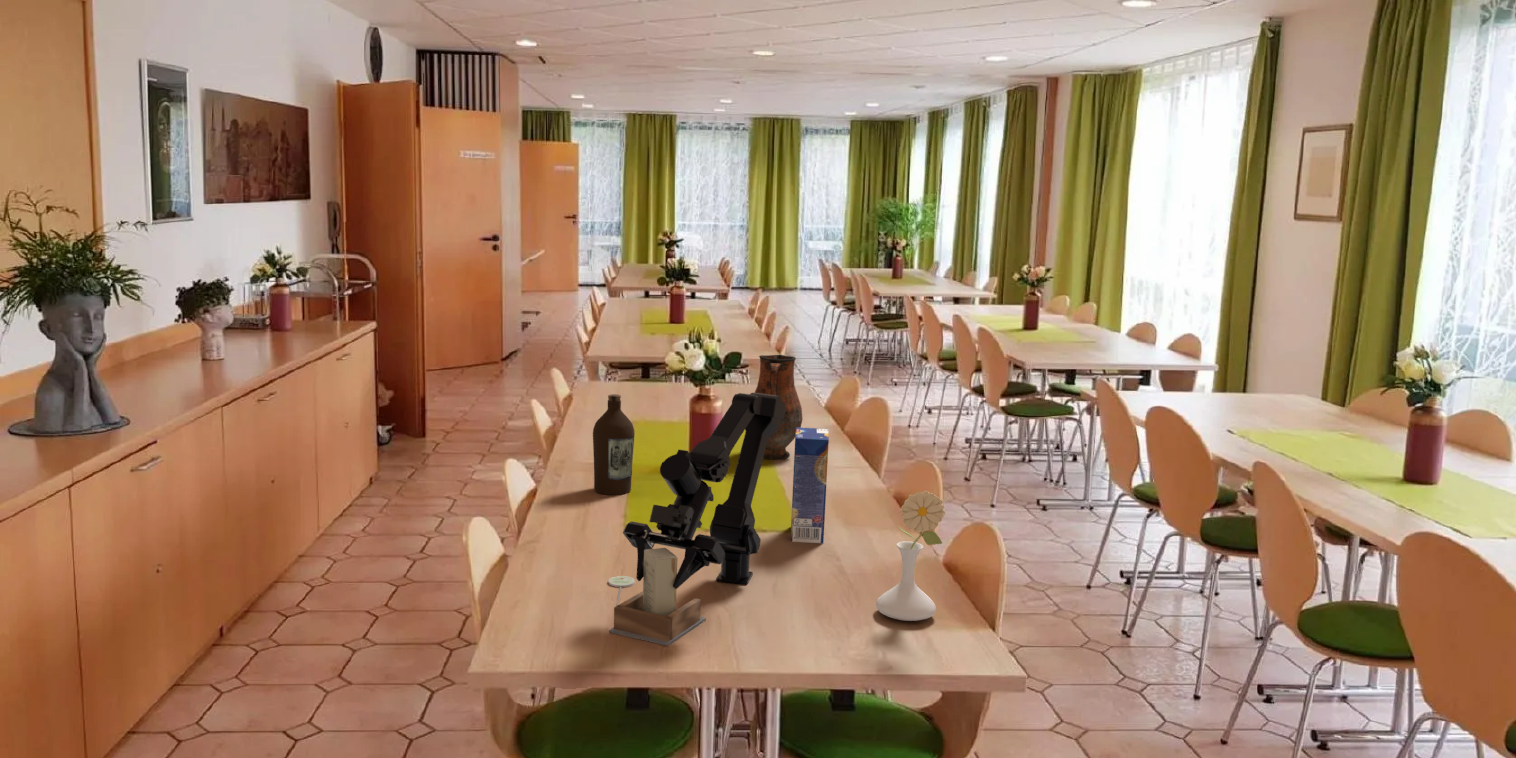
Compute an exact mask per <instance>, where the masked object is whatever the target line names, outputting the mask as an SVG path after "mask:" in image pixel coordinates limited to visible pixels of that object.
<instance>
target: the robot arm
mask: <svg viewBox="0 0 1516 758" xmlns="http://www.w3.org/2000/svg"><path fill="white" fill-rule="evenodd" d="M785 411H786V406H785V403H784V402H782V399H781V397H780V396H776V395H768V394H761V393H755V392H751V393H741V392H739V393H736V394H734V395H733V396H732V400H731V404H730V406H729V407H728V409H727V411H726V412H725V414H723V417H722V418H721V419H720V420H719V423H718V424H716V427H715V429H714V430H713V431H712V433H711V435H710V436H709V437H708V438H707V439H704V440H703V441H701V442H698V443H697V444H696V445H695V446H694V447H693V448H692V449H691V450H690V451H689V450H685V449H677V452H676V453H675V454H672V455H670V456H668V457H667V458H665V460H663V461H662V462H661V464H660V467H659V474H660V475H661V476H662V478H663V480H664V481H665V483H666V484H667V486H668V488H669V489H670V490H671V492H672V493H673V494H674V495H675V496H676V497H675V499H674V502H673V503H669V504H668V505H667V506H663V505H659V504H653V506H652V509H651V514H650V518H649V522H650V523H655V524H656V526H655V527H656V528H657V530H658V531H661V532H660V533H659V532H654V531H652V529H651V527H650V526H649V525H648V523H642V522H637V521H629V522H628V523H627V524H626V525H625V526H624V528H623V531H622V534H623V535H624V537H625V538H626V539H627V540H628V542H629V543H630V545H631V546H632V547H634V548H635V549H637V563H636V576H635V577H636V580H637V581H638V582H641V581H642V580H643V575H644V550H647V549H654V546H655V545H656V544H657V545H661V546H666V547H670V548H671V547H672V548H676V549H682V550H684V557H683V560H682V562H681V565H680V567H679V569H678V570H677V575H676V578H675V581H674V584H673V587H674V589H676V590H677V589H679V588H680V586H682V585H683V584H684V583H685V582H686V581H687V580H688V579H689V578H691V577H692V576H693V575H694V574H696V573H697V572H698V571H700V570H701V569H703V568H704V567H709V566H710V564H716V565H720V572H719V573H718V575H717V577H716V578H715V581H716V582H723V583H732V584H742V585H747V584H748V583H749V582H750V580H751V579H752V577H753V575H754V572H753V571H750V556H751V555H755V554H756V555H757V554H758V552H759V550H760V546H761V539H762V538H761V537H760V536H759V534H758V532H757V531H756V529H755V525H756V524H755V523H756V519H755V515H754V512H753V509H752V502H753V498H754V495H755V492H756V486H757V483H758V480H759V475H760V471H761V467H762V464H763V459H764V458H763V457H764V453H765V449H766V445H767V441H768V438H769V437H770V436H771V435H772V434H773V433H774V432H775V431H776V430H777V429H778V428H779V426H780V423H781V420H782V418H783V417H784V415H785ZM744 432H745V433H744ZM743 433H744V437H743V441H742V445H741V448H740V452H739V455H738V459H737V463H736V468H735V472H734V475H733V478H732V481H731V482H732V483H731V486H730V491H729V494H728V496H727V499H726V500H725V501H724V502H723V503H718V504H717V505H716V506H715V510H714V514H713V518H712V519H711V523H710V526H709V535H705V534H702V533H699V534H696V535H695V533H696V530H697V529H701V527H702V525H703V523H702V521H701V518H702V517H703V514H704V511H705V508H706V507H707V504H708V502H714V494H713V491H712V486H709V485H708V483H706V482H711V483H721V482H722V481H723V480H724V479H725V478H726V476H727V474H728V471H729V469H730V467H731V460H730V459H731V458H730V455H731V453H732V450H733V449H734V448H735V446H736V444H737V442H738V441H739V439H740V438H741V437H742V434H743ZM705 481H706V482H705ZM694 535H695V537H694ZM693 538H694V539H693Z"/></svg>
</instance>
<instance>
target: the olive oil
mask: <svg viewBox="0 0 1516 758" xmlns="http://www.w3.org/2000/svg"><path fill="white" fill-rule="evenodd" d="M607 398H608V400H607V410H606V411H605V412H604V413H603V414H602V415H601V416H600V417H599V418H598V419H597V420H596V422H595V423H594V426H593V429H592V446H593V447H592V448H593V449H592V450H593V483H594V484H593V487H594V491H595V493H598V494H601V495H606V496H607V495H609V496H610V495H611V496H616V495H617V496H618V495H619V496H620V495H624V494H628V493H630V492H631V491H632V477H633V476H632V475H633V460H634V448H635V447H634V446H635V428H634V425H633V422H632V421H631V420H630V418H628V416H626V414H625V413H624V412H623V411H622V400H621V395H620V394H616V393H615V394H614V393H613V394H608V395H607Z"/></svg>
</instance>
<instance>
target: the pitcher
mask: <svg viewBox="0 0 1516 758" xmlns="http://www.w3.org/2000/svg"><path fill="white" fill-rule="evenodd" d="M758 357H759V360H760V361H759V375H758V376H759V377H758V381H757V382H758V383H757V386H756V387H755V390H754V393H761V394H768V395H776V396H780V397H781V399H782V402H784V403H785V406H786V411H785V415H784V417H783V418H782V420H781V423H780V426H779V428H778V429H777V430H776V431H775V432H774V433H773V434H772V435H771V436H770V437H769V438H768V441H767V445H766V449H765V453H764V457H763V459H764V458H765V459H766V460H773V461H774V460H777V461H778V460H785V459H787V458H789V457H790V452H789V451H787V449H786V448H787V447H788V446H789V445H790V444H791V443H792V442H793V441H795V435H796V427H800V428H802V427H801V426H802V423H803V408H802V405H801V402H800V399H799V395H798V392H797V389H796V386H795V375H794V372H795V364H796V363H795V361H796V359H797V358H796V357H795V356H792V355H791V356H790V355H783V354H772V355H771V354H769V355H768V354H767V355H764V354H763V355H762V354H761V355H759V356H758Z"/></svg>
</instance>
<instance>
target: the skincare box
mask: <svg viewBox="0 0 1516 758" xmlns="http://www.w3.org/2000/svg"><path fill="white" fill-rule="evenodd" d="M677 573H678V556H677V555H675V554H674V553H673V552H671V550H669V549H668V548H667V547H659V548H657V547H656V548H652V549H647V550H644V575H643V578H642V580H643V581H642V582H643V583H642V591H643V610H642V611H645V612H650V613H654V614H659V615H663V616H668V615H669V614H671V613H672V612H674V611H676V610H677V589H674V587H673V584H674V581H675V578H676V575H677Z"/></svg>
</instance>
